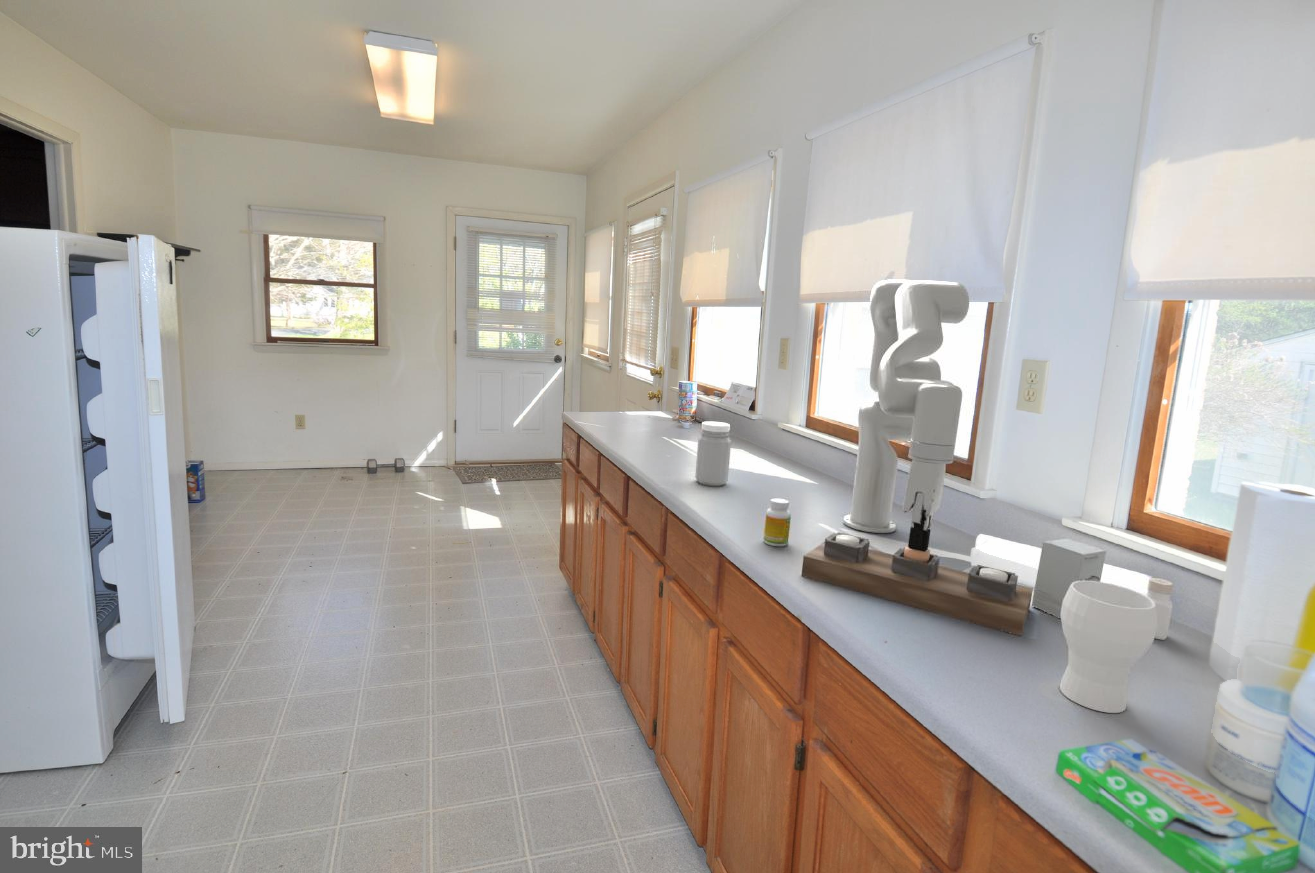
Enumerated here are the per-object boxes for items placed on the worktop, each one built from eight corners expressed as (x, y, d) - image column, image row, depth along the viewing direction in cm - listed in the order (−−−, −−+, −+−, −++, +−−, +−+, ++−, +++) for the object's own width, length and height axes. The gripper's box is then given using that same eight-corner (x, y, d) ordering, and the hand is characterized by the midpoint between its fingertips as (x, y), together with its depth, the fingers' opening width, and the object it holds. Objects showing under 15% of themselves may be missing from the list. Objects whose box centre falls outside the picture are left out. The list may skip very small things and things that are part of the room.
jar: (693, 484, 198) (697, 424, 195) (696, 477, 207) (701, 419, 204) (726, 488, 196) (731, 427, 193) (728, 480, 206) (733, 422, 203)
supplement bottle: (787, 548, 146) (792, 505, 144) (762, 545, 147) (767, 502, 145) (788, 540, 151) (792, 499, 149) (763, 537, 152) (768, 496, 150)
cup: (1124, 687, 95) (1144, 587, 93) (1151, 728, 85) (1174, 617, 83) (1040, 670, 99) (1057, 573, 96) (1057, 707, 89) (1076, 600, 86)
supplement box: (1070, 623, 116) (1083, 554, 114) (1029, 606, 123) (1041, 540, 121) (1095, 617, 120) (1108, 550, 118) (1054, 601, 126) (1066, 536, 124)
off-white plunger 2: (979, 581, 121) (982, 566, 121) (1006, 588, 119) (1009, 572, 118) (975, 589, 117) (978, 572, 117) (1003, 596, 115) (1006, 579, 115)
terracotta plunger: (906, 558, 128) (908, 543, 127) (930, 563, 125) (932, 548, 125) (900, 564, 124) (902, 548, 124) (925, 570, 122) (927, 554, 121)
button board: (826, 557, 142) (829, 525, 141) (1029, 609, 121) (1035, 572, 120) (801, 575, 130) (805, 541, 129) (1021, 636, 110) (1028, 595, 109)
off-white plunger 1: (838, 547, 135) (840, 533, 134) (860, 552, 133) (862, 538, 132) (831, 552, 131) (833, 538, 131) (853, 558, 129) (855, 543, 128)
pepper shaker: (1166, 642, 112) (1177, 588, 110) (1136, 634, 114) (1147, 581, 112) (1163, 633, 115) (1174, 580, 113) (1135, 626, 117) (1145, 574, 115)
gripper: (919, 444, 129) (906, 535, 132) (899, 453, 117) (886, 554, 120) (960, 450, 125) (947, 544, 128) (945, 460, 113) (930, 564, 116)
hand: (917, 548), depth 124 cm, fingers closed
